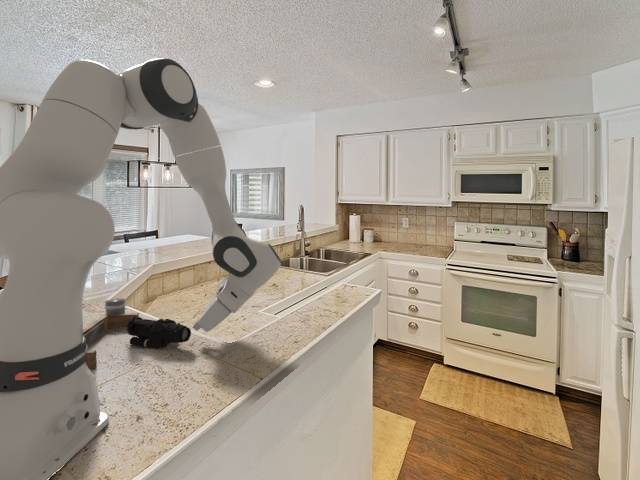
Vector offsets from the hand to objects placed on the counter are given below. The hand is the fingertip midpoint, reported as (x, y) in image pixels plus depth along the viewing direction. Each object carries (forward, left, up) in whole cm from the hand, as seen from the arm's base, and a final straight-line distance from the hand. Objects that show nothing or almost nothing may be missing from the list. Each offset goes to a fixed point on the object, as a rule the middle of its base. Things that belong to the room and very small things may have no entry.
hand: (195, 327), depth 89 cm
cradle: (0, +24, -4) cm, 24 cm away
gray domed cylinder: (+17, +27, -4) cm, 32 cm away
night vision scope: (-1, +9, -5) cm, 10 cm away
